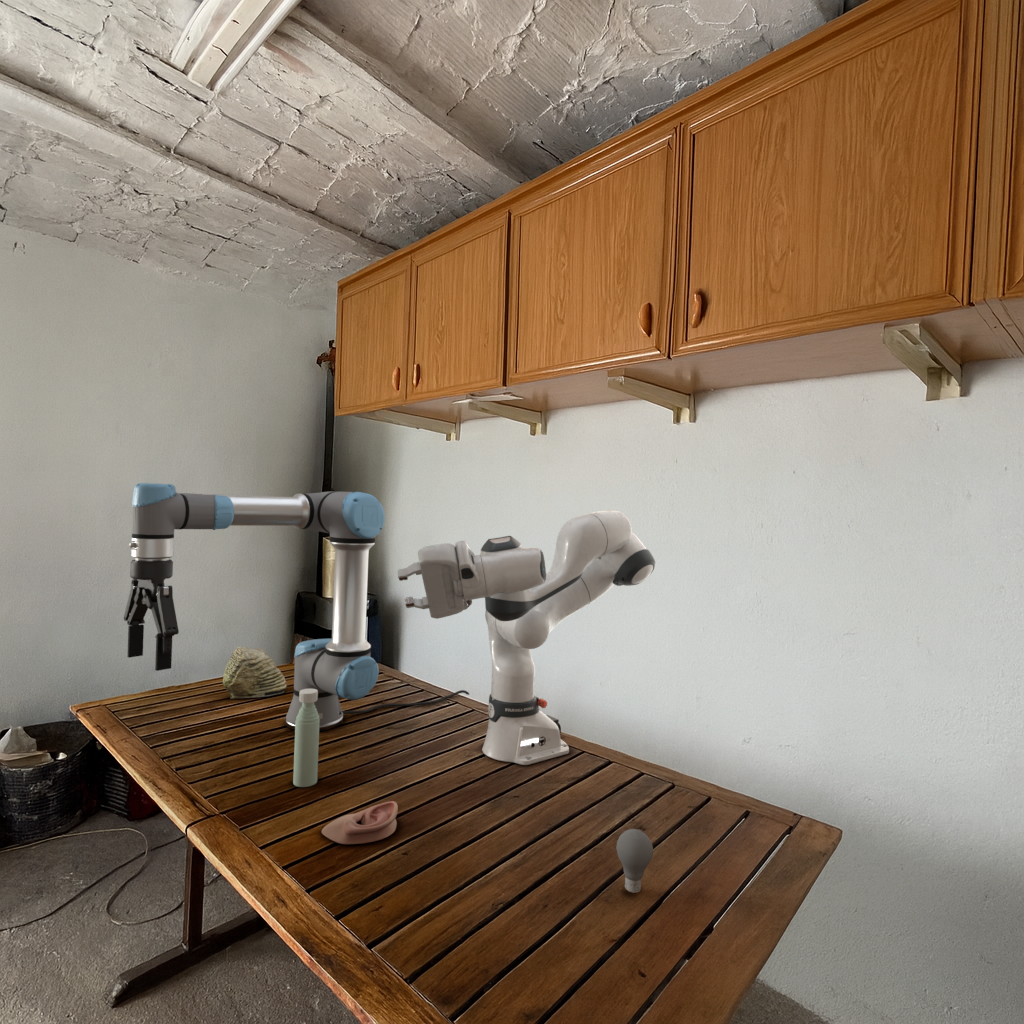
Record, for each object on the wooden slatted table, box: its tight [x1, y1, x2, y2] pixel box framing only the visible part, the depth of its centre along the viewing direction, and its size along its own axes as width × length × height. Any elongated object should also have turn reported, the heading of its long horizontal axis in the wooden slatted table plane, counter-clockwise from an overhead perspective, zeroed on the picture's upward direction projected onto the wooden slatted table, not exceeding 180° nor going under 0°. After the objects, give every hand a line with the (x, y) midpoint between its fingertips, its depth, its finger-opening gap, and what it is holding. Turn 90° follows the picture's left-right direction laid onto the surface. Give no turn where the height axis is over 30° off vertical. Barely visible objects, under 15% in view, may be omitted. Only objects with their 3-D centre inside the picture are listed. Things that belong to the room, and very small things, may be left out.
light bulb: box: [615, 828, 654, 894], centre depth 106 cm, size 6×6×10 cm
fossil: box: [222, 646, 288, 699], centre depth 198 cm, size 9×18×15 cm, turn 132°
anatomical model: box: [321, 800, 399, 845], centre depth 121 cm, size 13×4×12 cm
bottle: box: [292, 702, 320, 788], centre depth 140 cm, size 5×5×20 cm
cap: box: [299, 689, 318, 703], centre depth 140 cm, size 4×4×2 cm
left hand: (148, 662), depth 129 cm, fingers open, 13 cm apart
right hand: (401, 589), depth 128 cm, fingers open, 8 cm apart
